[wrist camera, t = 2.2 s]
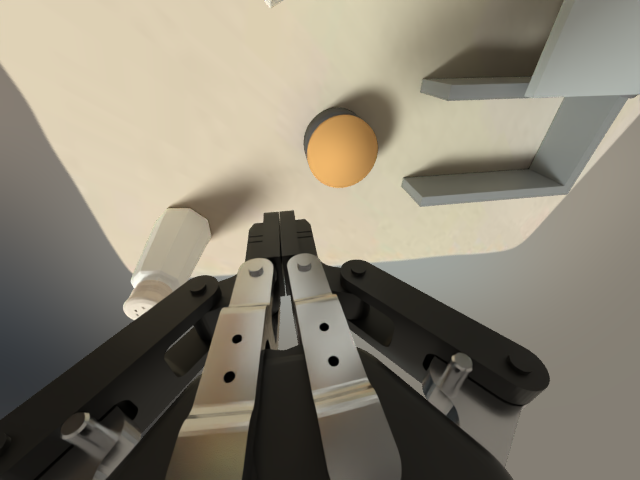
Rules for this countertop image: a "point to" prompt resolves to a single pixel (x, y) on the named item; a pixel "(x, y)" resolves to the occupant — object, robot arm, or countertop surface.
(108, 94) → the countertop surface
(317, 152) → the puck
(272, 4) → the cable organizer
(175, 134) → the countertop surface
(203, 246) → the pepper shaker
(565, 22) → the cover
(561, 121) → the grey u-shaped frame
